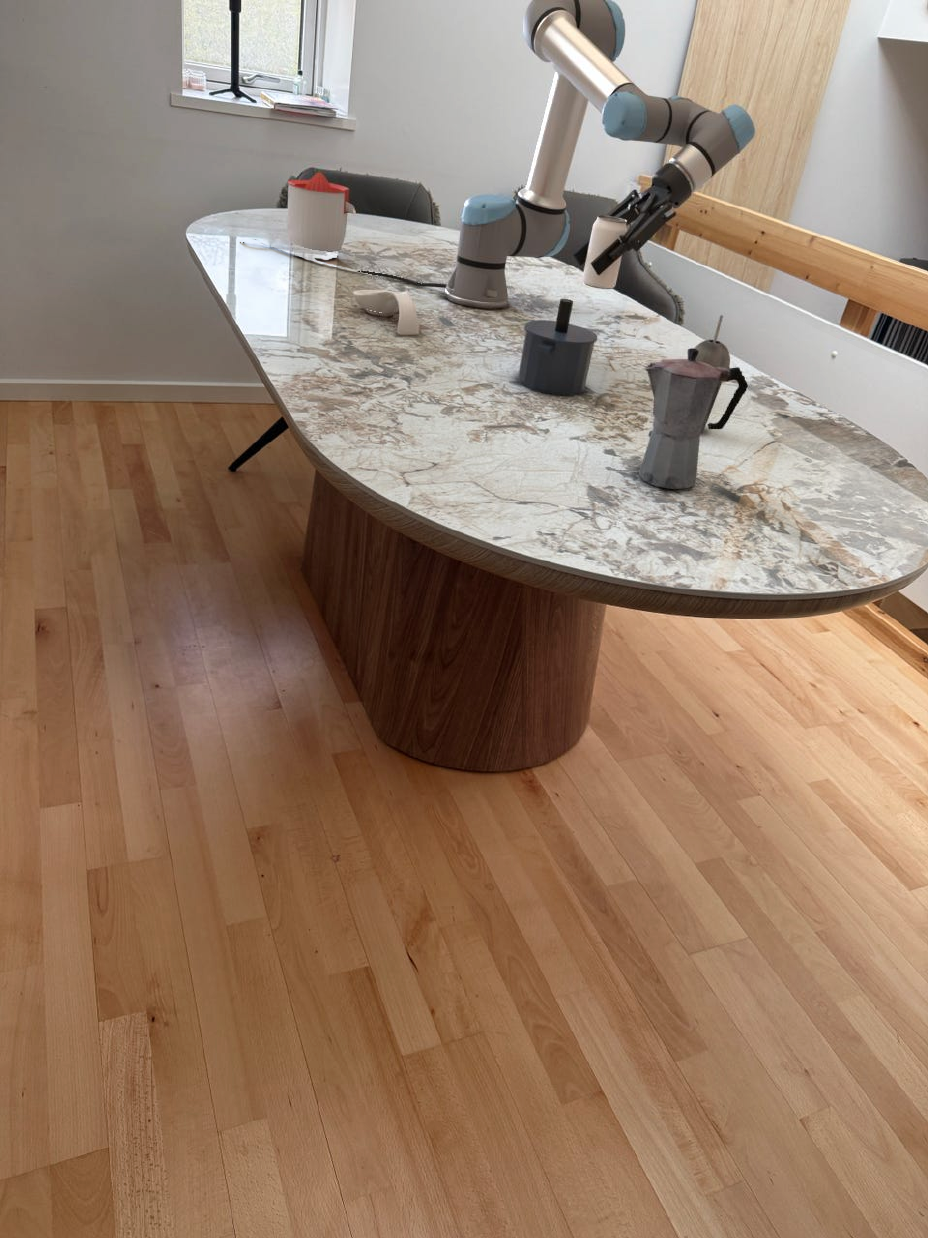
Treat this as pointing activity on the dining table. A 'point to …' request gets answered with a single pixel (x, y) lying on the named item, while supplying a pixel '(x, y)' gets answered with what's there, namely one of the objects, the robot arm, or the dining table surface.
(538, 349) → the pot
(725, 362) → the beverage cup
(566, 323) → the pot lid
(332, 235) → the citrus juicer
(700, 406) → the moka pot
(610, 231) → the can
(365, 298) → the beige curved piece
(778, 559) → the dining table surface
